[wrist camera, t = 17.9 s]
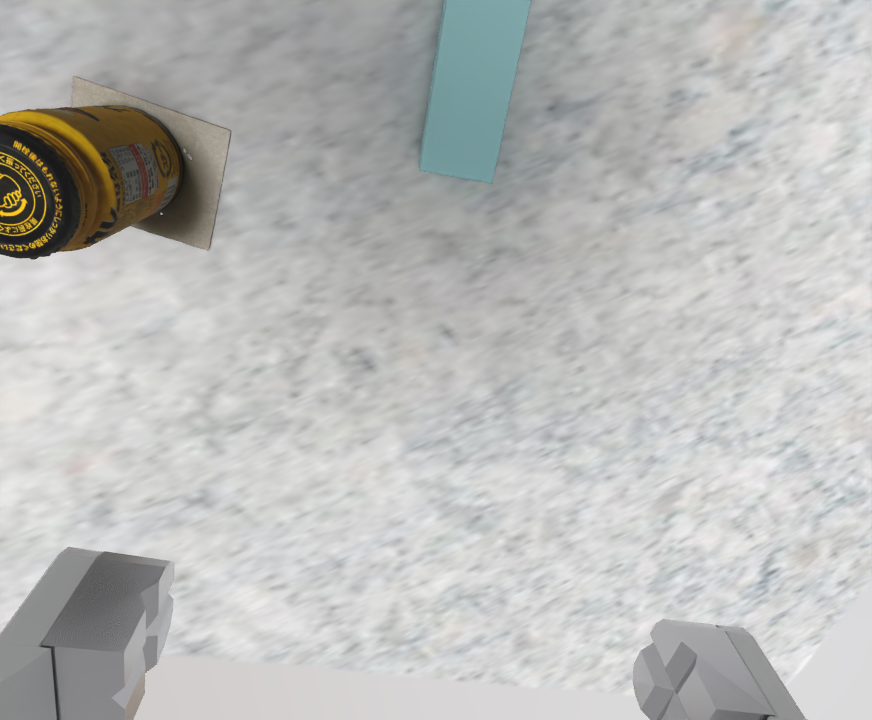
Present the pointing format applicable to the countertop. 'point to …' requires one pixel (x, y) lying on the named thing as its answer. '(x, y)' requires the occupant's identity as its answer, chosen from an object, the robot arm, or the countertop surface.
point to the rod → (472, 86)
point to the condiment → (106, 173)
